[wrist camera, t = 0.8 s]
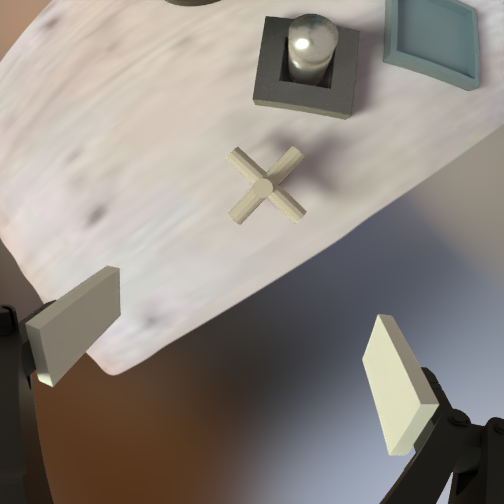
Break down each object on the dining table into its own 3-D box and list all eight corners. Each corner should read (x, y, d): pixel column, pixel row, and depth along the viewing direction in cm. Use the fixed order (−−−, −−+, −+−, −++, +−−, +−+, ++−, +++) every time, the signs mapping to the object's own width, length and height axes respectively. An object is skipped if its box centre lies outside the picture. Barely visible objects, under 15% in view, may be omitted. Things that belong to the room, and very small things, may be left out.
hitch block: (267, 27, 34) (265, 16, 30) (353, 41, 33) (359, 31, 30) (255, 104, 37) (252, 99, 33) (345, 119, 36) (350, 115, 32)
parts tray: (385, -14, 30) (391, -25, 27) (466, 16, 29) (475, 9, 26) (383, 61, 33) (390, 54, 30) (468, 91, 32) (479, 87, 29)
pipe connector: (266, 125, 37) (260, 112, 28) (326, 182, 38) (340, 187, 29) (211, 184, 40) (187, 191, 30) (270, 239, 41) (264, 263, 31)
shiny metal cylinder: (290, 52, 34) (291, 10, 23) (326, 57, 34) (340, 18, 22) (286, 83, 35) (285, 50, 24) (322, 89, 35) (336, 59, 24)
